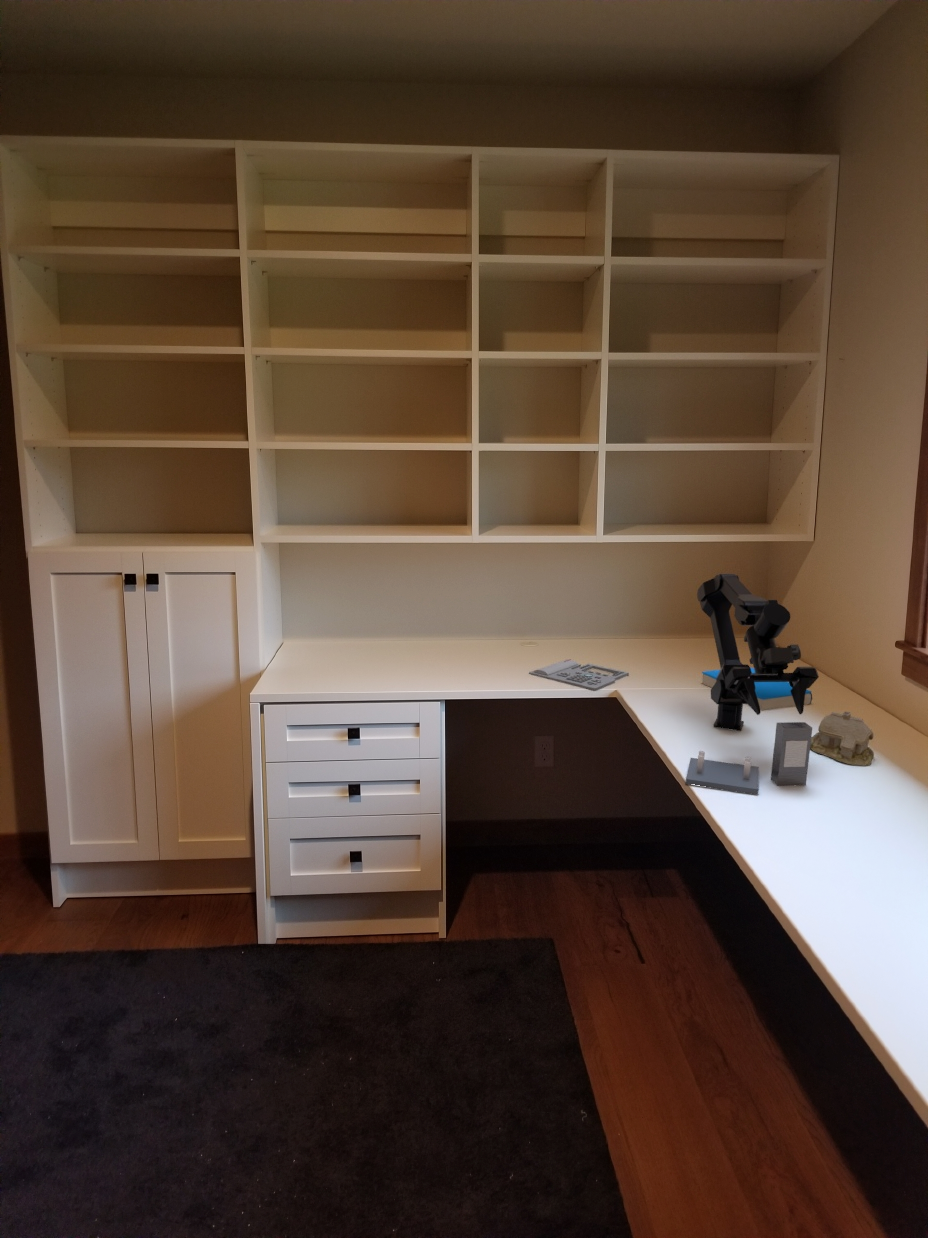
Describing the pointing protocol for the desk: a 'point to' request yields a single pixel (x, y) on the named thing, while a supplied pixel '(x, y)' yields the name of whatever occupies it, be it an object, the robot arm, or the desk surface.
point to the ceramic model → (844, 739)
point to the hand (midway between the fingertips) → (780, 713)
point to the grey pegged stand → (723, 774)
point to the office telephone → (579, 674)
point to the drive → (791, 753)
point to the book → (765, 692)
